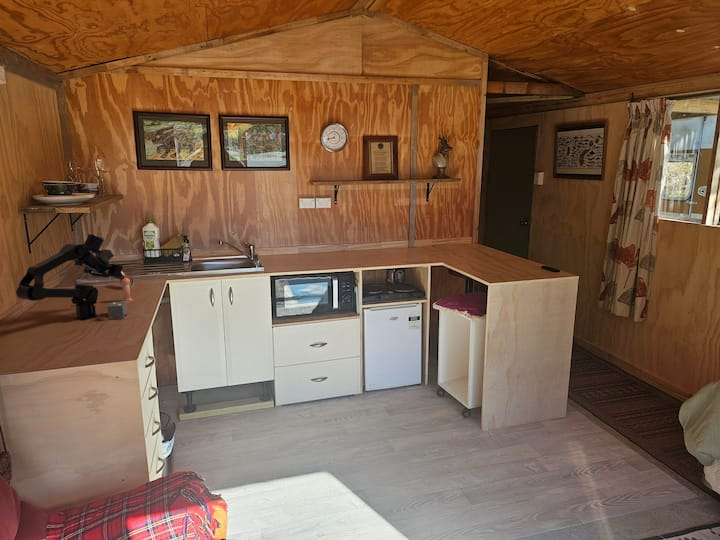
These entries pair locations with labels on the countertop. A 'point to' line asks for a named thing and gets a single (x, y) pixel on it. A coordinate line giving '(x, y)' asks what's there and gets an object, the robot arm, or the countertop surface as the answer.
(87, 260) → the robot arm
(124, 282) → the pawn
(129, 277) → the bull figurine
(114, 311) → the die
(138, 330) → the countertop surface
